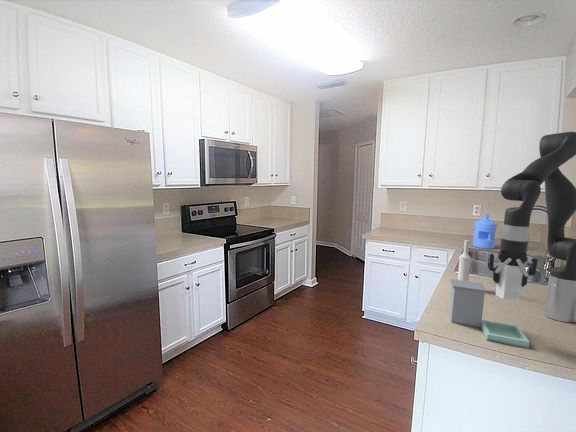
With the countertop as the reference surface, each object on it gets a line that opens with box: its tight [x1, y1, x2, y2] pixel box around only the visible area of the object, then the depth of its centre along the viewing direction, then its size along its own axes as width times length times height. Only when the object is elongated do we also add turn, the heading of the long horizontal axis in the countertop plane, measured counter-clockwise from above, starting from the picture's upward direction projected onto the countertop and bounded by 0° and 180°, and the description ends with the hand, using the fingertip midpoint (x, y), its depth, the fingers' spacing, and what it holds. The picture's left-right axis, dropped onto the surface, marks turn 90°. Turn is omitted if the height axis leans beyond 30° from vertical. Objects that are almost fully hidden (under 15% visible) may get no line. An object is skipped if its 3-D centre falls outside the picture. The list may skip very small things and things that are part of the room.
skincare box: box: [495, 262, 523, 300], centre depth 107 cm, size 6×4×12 cm
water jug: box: [472, 213, 498, 250], centre depth 255 cm, size 16×16×28 cm
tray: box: [480, 319, 531, 349], centre depth 109 cm, size 12×12×2 cm
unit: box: [448, 278, 488, 328], centre depth 120 cm, size 11×9×15 cm
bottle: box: [457, 239, 472, 281], centre depth 156 cm, size 5×5×25 cm
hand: (508, 284), depth 107 cm, fingers closed on skincare box, 7 cm apart
